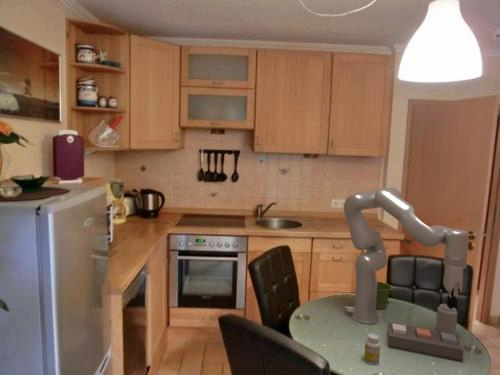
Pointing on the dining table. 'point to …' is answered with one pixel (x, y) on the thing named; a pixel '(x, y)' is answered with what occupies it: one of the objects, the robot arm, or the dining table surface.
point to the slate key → (448, 338)
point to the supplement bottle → (372, 349)
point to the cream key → (399, 329)
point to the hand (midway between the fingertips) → (451, 306)
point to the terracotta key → (423, 333)
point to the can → (446, 319)
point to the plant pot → (382, 295)
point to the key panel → (425, 344)
